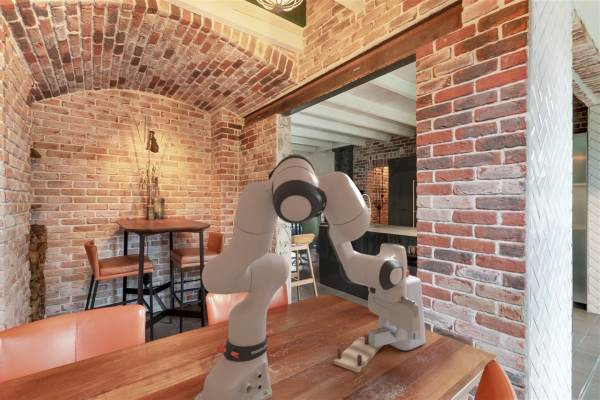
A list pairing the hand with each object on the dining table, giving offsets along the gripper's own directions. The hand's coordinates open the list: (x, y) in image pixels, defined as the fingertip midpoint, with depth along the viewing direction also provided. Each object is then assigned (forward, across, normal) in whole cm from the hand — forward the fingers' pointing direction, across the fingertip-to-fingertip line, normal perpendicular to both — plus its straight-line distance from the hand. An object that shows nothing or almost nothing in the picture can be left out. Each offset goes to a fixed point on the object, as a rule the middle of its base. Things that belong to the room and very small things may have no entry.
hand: (392, 334), depth 94 cm
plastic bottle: (+12, +13, -18) cm, 25 cm away
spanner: (+2, 0, -1) cm, 2 cm away
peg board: (+12, +12, +4) cm, 17 cm away
